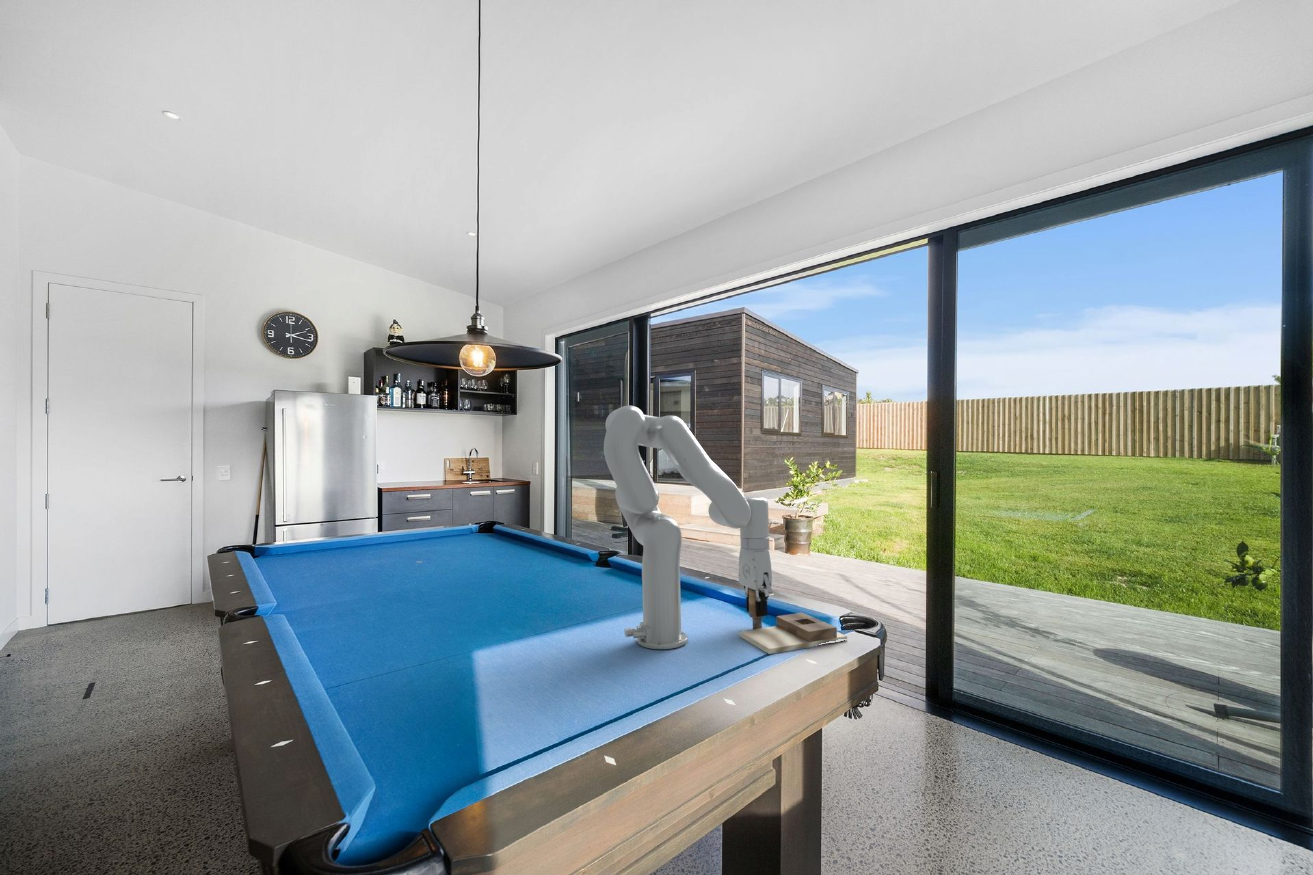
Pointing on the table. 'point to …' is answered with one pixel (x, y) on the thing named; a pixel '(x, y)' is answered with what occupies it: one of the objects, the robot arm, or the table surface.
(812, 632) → the subfloor panel
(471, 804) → the table surface
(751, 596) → the tan rounded cylinder
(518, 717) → the table surface
